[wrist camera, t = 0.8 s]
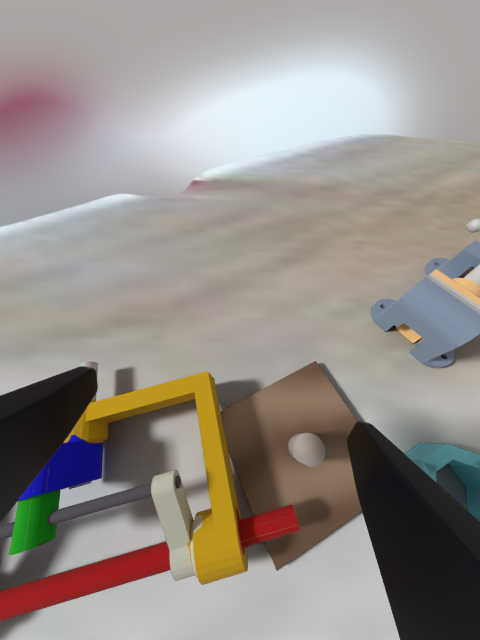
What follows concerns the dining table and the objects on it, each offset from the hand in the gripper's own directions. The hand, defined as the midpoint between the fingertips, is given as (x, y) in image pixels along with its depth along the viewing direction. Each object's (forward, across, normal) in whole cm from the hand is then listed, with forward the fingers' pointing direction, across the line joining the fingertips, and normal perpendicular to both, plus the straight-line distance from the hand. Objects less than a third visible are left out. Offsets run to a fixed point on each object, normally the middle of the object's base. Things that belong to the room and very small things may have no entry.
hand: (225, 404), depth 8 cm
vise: (+22, -25, -1) cm, 33 cm away
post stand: (+9, -8, +13) cm, 17 cm away
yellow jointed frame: (+8, +9, +17) cm, 20 cm away
